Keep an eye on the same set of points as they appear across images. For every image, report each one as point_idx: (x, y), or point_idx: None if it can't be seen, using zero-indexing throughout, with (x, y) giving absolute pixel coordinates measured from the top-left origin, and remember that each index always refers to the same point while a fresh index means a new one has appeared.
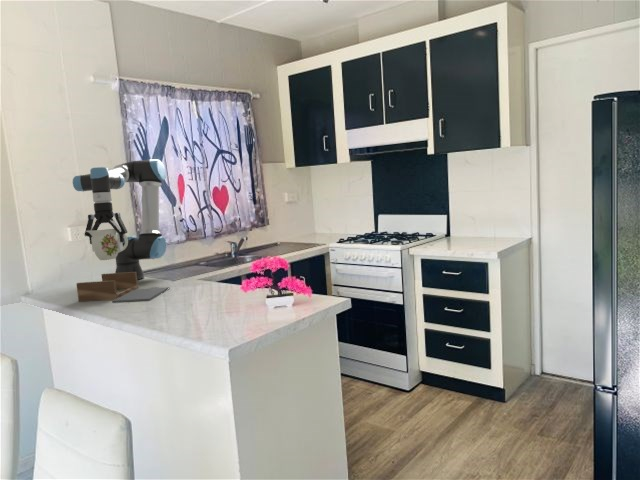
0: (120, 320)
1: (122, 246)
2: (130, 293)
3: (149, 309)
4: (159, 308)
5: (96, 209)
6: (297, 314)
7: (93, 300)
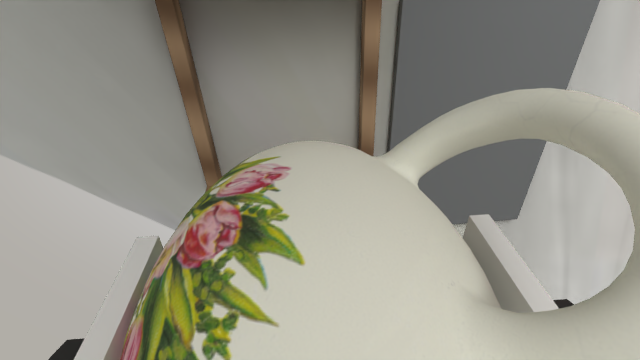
0: None
1: (504, 245)
2: (411, 117)
3: None
4: (548, 291)
5: None
6: None
7: None
